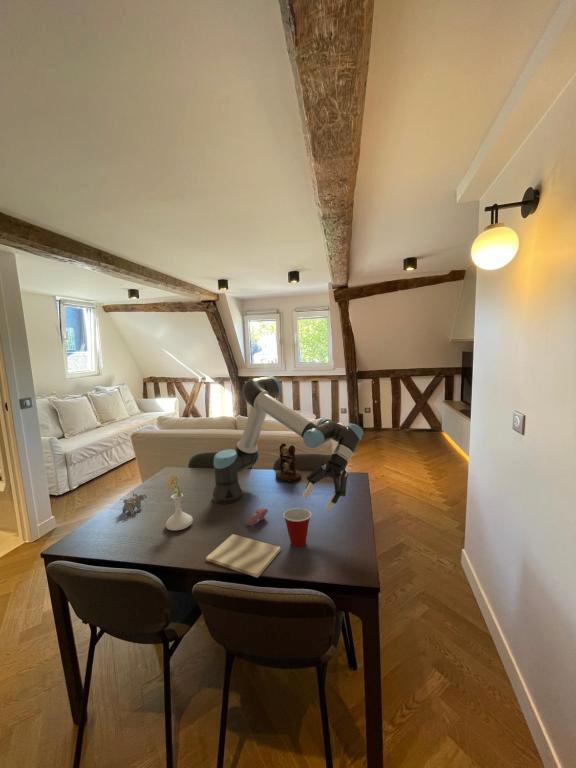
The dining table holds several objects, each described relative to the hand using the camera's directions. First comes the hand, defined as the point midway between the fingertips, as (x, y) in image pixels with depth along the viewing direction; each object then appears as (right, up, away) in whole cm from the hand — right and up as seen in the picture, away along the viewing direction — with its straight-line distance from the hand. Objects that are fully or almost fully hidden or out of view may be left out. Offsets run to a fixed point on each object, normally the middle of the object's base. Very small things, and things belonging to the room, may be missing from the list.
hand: (315, 503), depth 131 cm
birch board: (-27, -15, -10) cm, 33 cm away
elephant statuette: (-85, -14, +29) cm, 91 cm away
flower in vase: (-58, -14, +12) cm, 60 cm away
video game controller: (-24, -13, +13) cm, 30 cm away
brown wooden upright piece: (-11, -7, +59) cm, 60 cm away
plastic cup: (-7, -14, -3) cm, 16 cm away
